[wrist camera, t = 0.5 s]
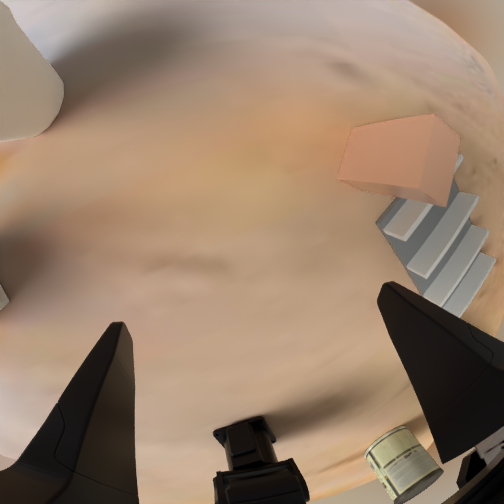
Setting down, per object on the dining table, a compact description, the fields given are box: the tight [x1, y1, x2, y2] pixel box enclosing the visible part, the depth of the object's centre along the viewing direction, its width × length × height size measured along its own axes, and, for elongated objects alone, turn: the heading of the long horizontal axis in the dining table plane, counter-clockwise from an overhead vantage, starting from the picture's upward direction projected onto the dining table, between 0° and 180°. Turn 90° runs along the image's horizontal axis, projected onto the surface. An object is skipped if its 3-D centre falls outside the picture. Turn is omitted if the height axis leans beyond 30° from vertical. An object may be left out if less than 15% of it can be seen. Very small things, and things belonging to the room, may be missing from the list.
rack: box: [375, 154, 496, 318], centre depth 25 cm, size 12×19×4 cm, turn 45°
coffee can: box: [364, 426, 444, 504], centre depth 32 cm, size 10×10×14 cm
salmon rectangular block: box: [337, 114, 460, 207], centre depth 18 cm, size 5×3×10 cm, turn 162°
